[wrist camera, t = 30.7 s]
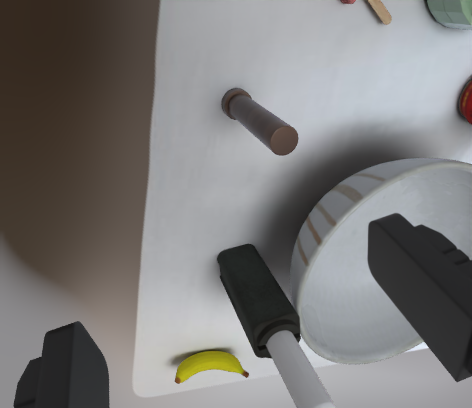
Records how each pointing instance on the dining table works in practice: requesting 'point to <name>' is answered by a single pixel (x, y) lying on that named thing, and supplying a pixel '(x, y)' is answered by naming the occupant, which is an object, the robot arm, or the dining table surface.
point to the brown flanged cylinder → (260, 122)
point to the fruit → (208, 364)
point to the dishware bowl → (356, 249)
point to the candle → (270, 323)
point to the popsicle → (376, 9)
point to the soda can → (466, 102)
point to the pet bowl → (452, 13)
